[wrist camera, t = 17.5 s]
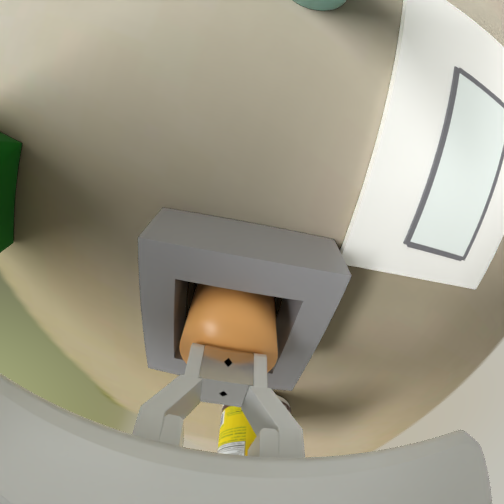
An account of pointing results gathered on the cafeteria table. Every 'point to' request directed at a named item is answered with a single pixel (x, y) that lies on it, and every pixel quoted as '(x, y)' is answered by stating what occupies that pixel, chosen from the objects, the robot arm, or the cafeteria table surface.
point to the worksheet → (436, 154)
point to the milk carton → (8, 187)
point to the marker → (320, 4)
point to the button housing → (237, 283)
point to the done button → (231, 322)
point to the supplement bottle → (237, 430)
